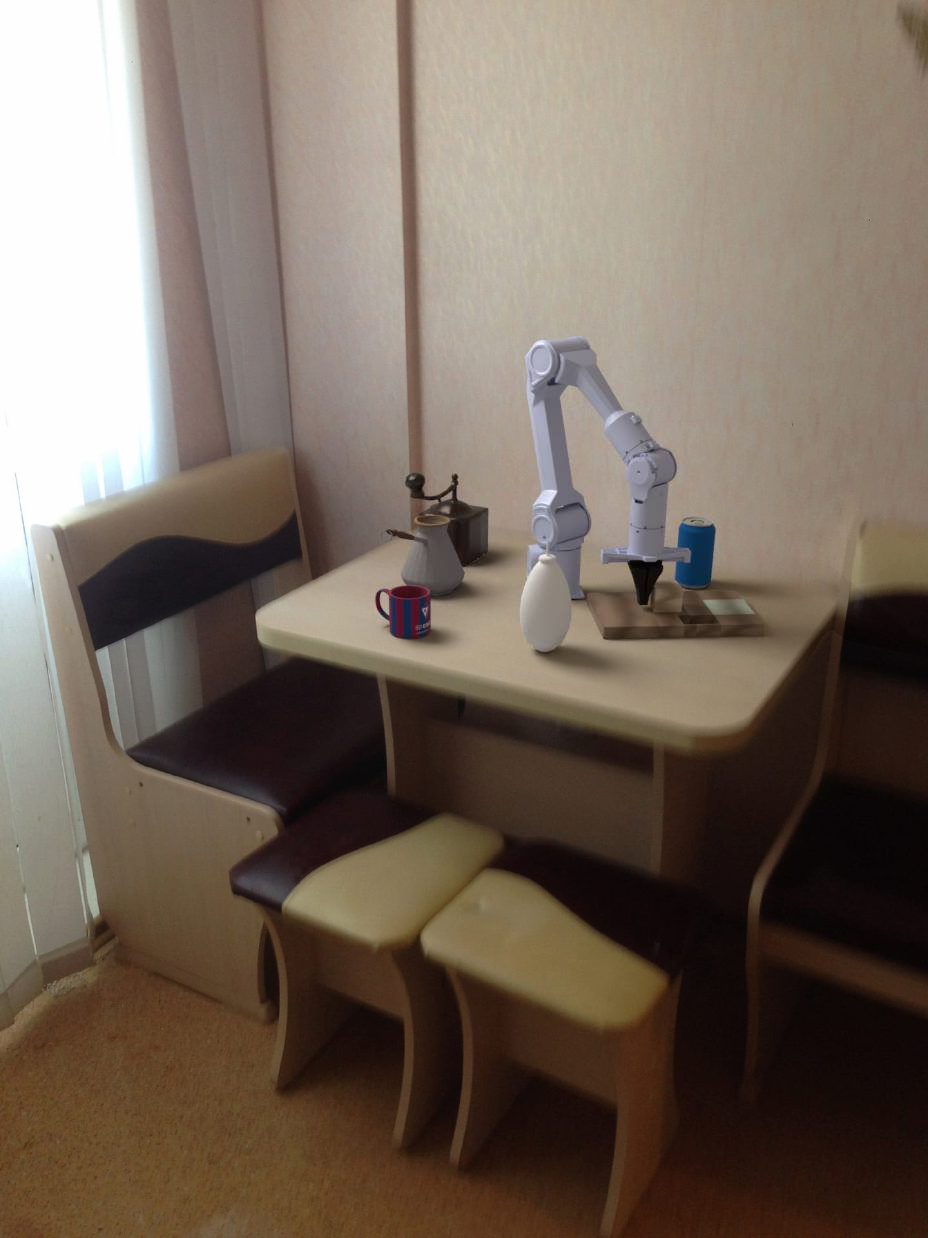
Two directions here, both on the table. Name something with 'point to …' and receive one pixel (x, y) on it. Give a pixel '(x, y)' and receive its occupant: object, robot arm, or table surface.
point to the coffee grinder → (456, 518)
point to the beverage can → (696, 552)
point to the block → (666, 597)
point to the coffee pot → (431, 556)
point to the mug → (407, 611)
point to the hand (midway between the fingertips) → (642, 603)
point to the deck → (674, 616)
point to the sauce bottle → (545, 604)
